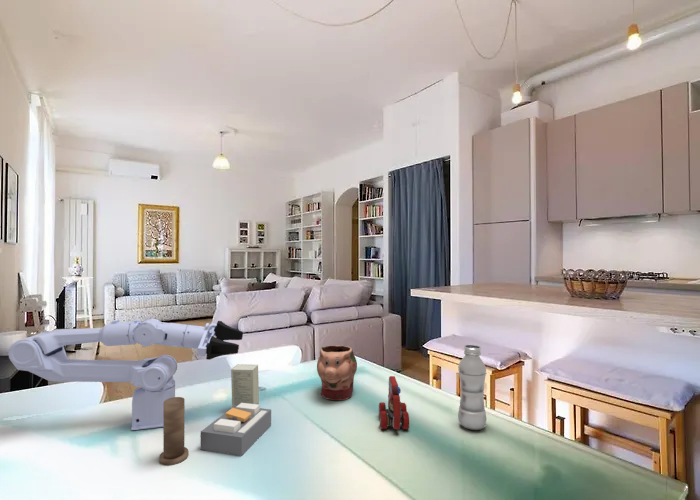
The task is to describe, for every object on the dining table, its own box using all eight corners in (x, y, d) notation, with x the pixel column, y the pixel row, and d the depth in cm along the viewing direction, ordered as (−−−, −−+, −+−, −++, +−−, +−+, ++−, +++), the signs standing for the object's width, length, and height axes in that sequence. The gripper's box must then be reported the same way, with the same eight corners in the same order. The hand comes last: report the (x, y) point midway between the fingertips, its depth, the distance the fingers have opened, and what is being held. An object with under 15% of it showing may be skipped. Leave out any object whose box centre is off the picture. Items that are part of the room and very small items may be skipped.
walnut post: (156, 467, 75) (156, 407, 75) (162, 452, 80) (162, 397, 80) (186, 463, 76) (186, 404, 76) (190, 448, 82) (190, 394, 82)
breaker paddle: (224, 419, 86) (225, 413, 86) (231, 413, 89) (232, 407, 89) (243, 425, 85) (244, 418, 85) (250, 419, 88) (251, 412, 88)
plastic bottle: (488, 435, 88) (489, 351, 88) (458, 432, 90) (459, 349, 89) (484, 422, 95) (484, 344, 94) (456, 419, 96) (457, 342, 96)
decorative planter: (321, 380, 124) (321, 338, 124) (357, 381, 123) (357, 339, 123) (312, 406, 104) (312, 356, 104) (356, 407, 103) (356, 357, 103)
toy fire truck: (381, 436, 88) (381, 392, 88) (378, 412, 100) (378, 374, 100) (411, 436, 88) (411, 392, 88) (404, 413, 100) (404, 374, 100)
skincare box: (259, 408, 102) (259, 364, 102) (253, 415, 98) (253, 369, 98) (237, 407, 103) (237, 363, 103) (230, 414, 98) (230, 368, 98)
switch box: (200, 449, 81) (200, 425, 81) (235, 420, 95) (235, 399, 95) (241, 456, 79) (241, 430, 79) (271, 425, 92) (271, 403, 92)
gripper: (179, 334, 88) (238, 341, 90) (195, 310, 102) (246, 317, 104) (176, 361, 89) (234, 367, 92) (192, 334, 103) (242, 340, 106)
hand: (240, 342), depth 98 cm, fingers open, 7 cm apart
